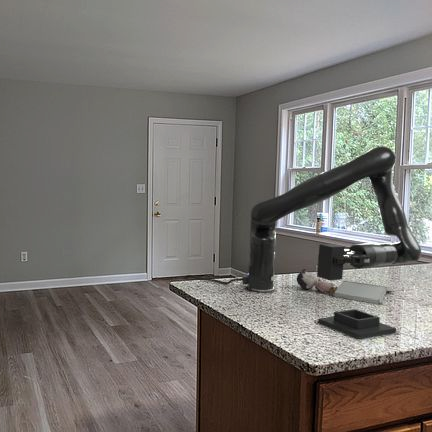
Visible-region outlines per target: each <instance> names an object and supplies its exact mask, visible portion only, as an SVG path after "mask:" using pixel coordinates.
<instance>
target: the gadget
mask: <svg viewBox="0 0 432 432" xmlns="http://www.w3.org/2000/svg"><path fill="white" fill-rule="evenodd" d="M337 287H338V288H337V290H336V291H335V292H334V293H332V297H335V298H343V299H348V300H354V301H359V302H365V303H369V304H376V305H380V304H381V303H382V301H383V300H384V297H385V296H386V293H387V292H390V291H391V292H393V291H394V290H393V286H388V285H381V284H375V283H368V282H361V281H356V280H355V281H354V280H342V282H341V283H340V284H339V285H338V286H337Z"/></svg>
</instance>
